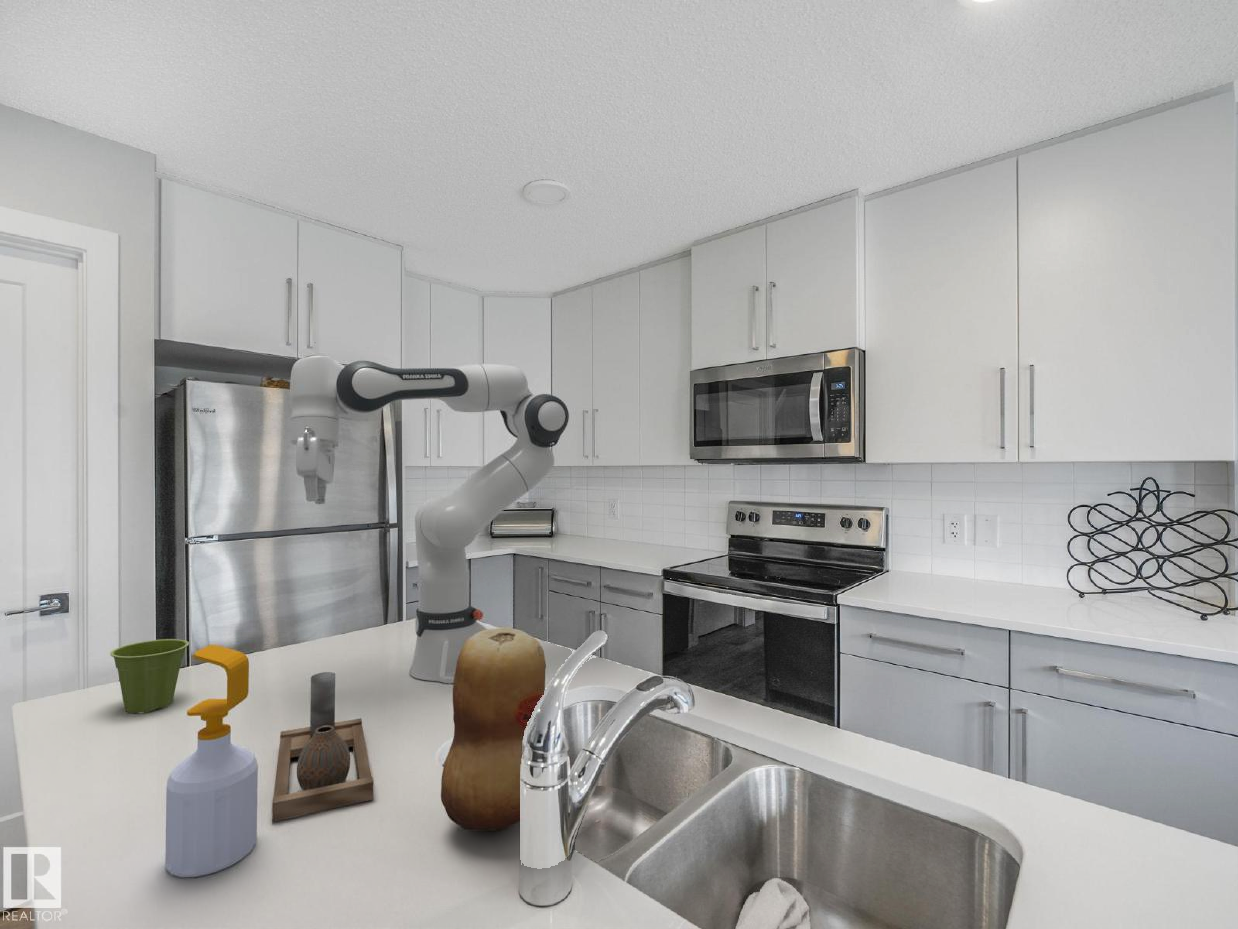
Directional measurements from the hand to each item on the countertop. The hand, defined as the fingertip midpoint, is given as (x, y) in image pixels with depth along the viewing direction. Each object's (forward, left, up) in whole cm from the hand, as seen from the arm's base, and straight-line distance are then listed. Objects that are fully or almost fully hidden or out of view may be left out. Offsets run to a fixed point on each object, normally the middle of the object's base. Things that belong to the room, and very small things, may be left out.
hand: (316, 502), depth 120 cm
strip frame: (-1, +33, -39) cm, 51 cm away
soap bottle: (+11, +49, -39) cm, 63 cm away
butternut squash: (-21, +57, -39) cm, 73 cm away
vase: (-1, +39, -39) cm, 55 cm away
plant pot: (+28, -8, -39) cm, 49 cm away
